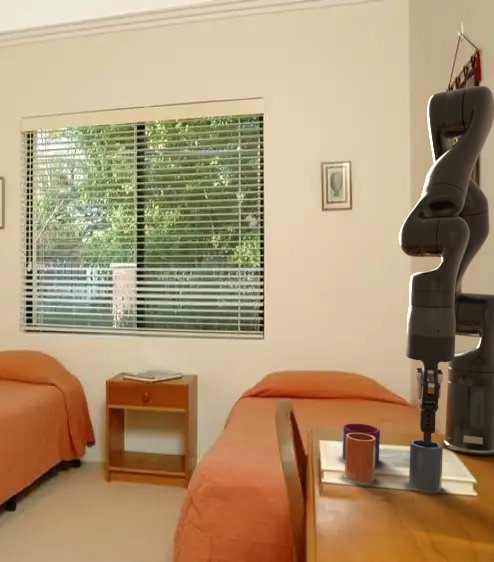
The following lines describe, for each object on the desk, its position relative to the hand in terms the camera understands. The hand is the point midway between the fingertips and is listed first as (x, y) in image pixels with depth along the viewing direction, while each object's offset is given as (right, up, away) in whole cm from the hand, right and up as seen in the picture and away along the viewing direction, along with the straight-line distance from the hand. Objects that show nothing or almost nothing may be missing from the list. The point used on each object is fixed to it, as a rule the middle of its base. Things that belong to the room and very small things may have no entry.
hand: (427, 430), depth 104 cm
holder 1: (-10, -10, +4) cm, 15 cm away
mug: (-7, -10, +13) cm, 18 cm away
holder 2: (0, -10, 0) cm, 10 cm away
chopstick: (0, -8, 0) cm, 8 cm away
